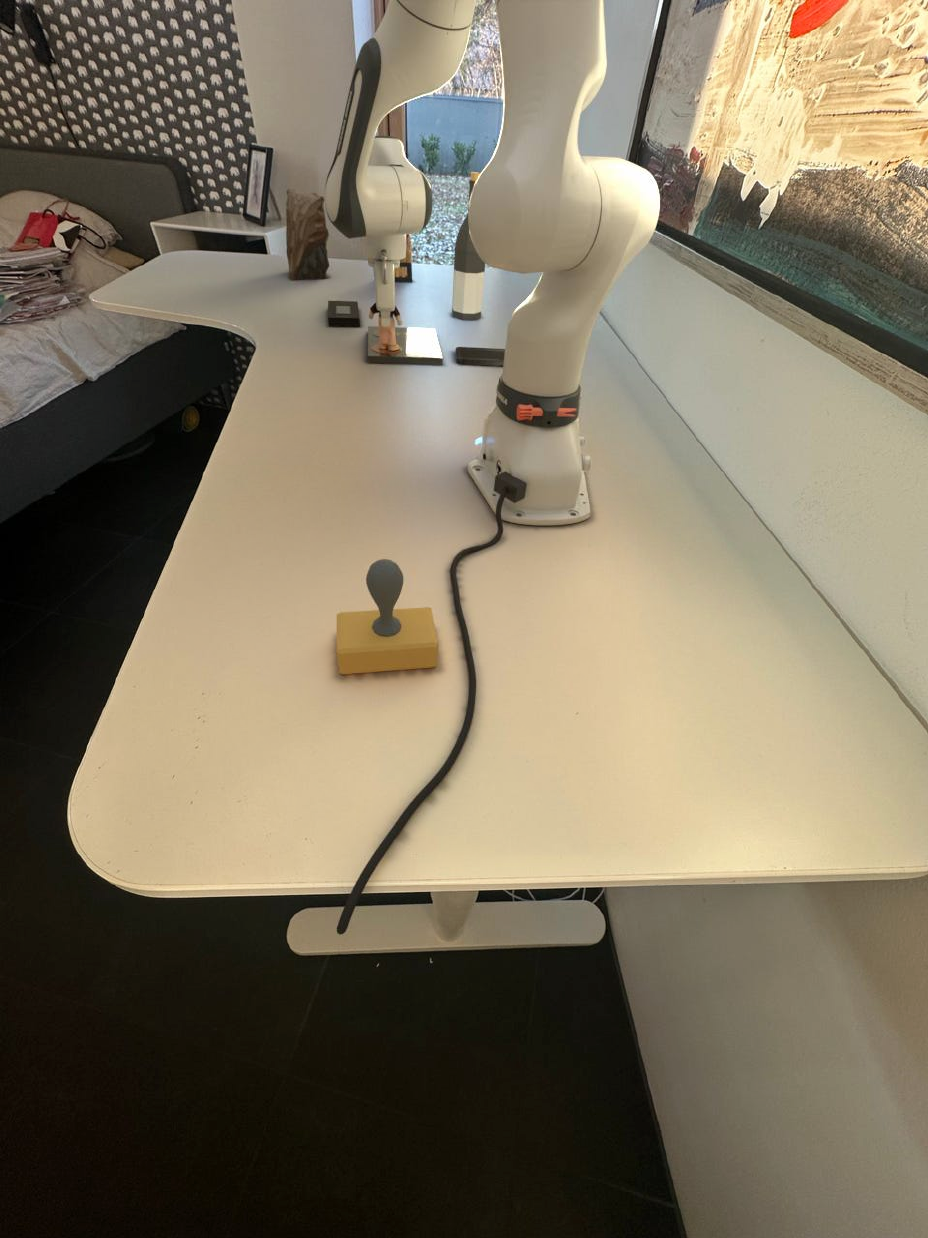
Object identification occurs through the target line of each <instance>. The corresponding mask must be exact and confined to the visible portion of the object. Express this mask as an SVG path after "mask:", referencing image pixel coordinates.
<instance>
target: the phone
mask: <svg viewBox="0 0 928 1238" xmlns="http://www.w3.org/2000/svg"><path fill="white" fill-rule="evenodd" d="M454 350H455V352H454V354H455V361H456V363H457V364H458V365H472V366H473V365H474V366H493V367H494V366H495V367H498V366H499V367H503V364H504V355H505V348H493V347H492V348H491V347H490V348H489V347H474V346H473V347H471V346H456V347H455V349H454Z"/></svg>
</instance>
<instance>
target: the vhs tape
mask: <svg viewBox="0 0 928 1238" xmlns="http://www.w3.org/2000/svg"><path fill="white" fill-rule="evenodd" d="M327 321H328V327H345V328H346V327H347V328H348V327H352V328H354V327H355V328H361V319H360V310H359V303H358V301H355V300H353V301H351V300H327Z"/></svg>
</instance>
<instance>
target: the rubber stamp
mask: <svg viewBox="0 0 928 1238" xmlns="http://www.w3.org/2000/svg"><path fill="white" fill-rule="evenodd" d="M365 584H366V587H367V591H368V592H369V594H370V596H371V598H372V600H373V601H374V603H375V605H376V606H377V610H376V609H374V610H361V611H360V610H358V611H343V612H342V611H341V612H338V613H336V659H337V665H338V674H339V675H350V674H363V673H375V672H376V673H377V672H389V671H390V672H391V671H402V670H413V669H414V670H415V669H427V668H429V669H430V668H436V667H437V666H438V650H439V644H438V638H437V632H436V628H435V627H436V626H435V620H434V614H433V609H432V607H428V606H426V607H425V606H424V607H412V608H411V607H410V608H409V607H408V608H395V606H396V604H397V602H398V600H399V599H400V596H401V593H402V591H403V587H404V574H403V571H402V570H401V568H400V566H399V564H397V562H395V561H393V560H391V559H388V558H381V559H378V560H376V561H374V562H372V564H370V565H369V568H368V570H367V573H366V577H365Z"/></svg>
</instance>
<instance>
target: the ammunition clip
mask: <svg viewBox="0 0 928 1238" xmlns="http://www.w3.org/2000/svg"><path fill="white" fill-rule="evenodd" d="M410 235H411V234H407V237H406V257H405V258H404V259H401V260H400V266H399V267H398V268H395V269H394V277H395V283H413V265H412V263H413V261H412V259H413V258H412V256H413V255H412V254H413V253H412V241H411V240H412V239H411V236H410Z"/></svg>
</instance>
